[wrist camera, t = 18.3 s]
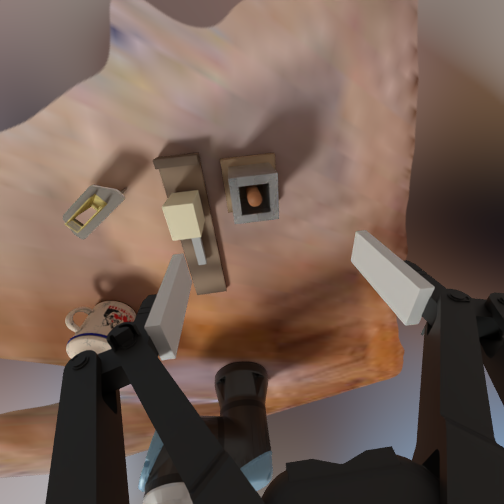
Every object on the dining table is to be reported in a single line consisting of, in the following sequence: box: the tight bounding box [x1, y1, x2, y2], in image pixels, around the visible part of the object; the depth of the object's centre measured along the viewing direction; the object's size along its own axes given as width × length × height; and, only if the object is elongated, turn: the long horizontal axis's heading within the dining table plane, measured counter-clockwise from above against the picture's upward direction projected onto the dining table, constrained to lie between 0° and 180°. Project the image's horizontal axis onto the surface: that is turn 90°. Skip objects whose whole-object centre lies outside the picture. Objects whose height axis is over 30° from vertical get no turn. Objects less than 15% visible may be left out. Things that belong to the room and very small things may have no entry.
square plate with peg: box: [220, 153, 276, 213], centre depth 32 cm, size 8×8×8 cm
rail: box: [153, 153, 226, 295], centre depth 38 cm, size 26×6×2 cm, turn 5°
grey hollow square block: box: [228, 162, 279, 224], centre depth 31 cm, size 6×6×7 cm
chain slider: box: [162, 190, 207, 265], centre depth 35 cm, size 13×4×6 cm, turn 5°
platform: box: [63, 185, 127, 239], centre depth 32 cm, size 12×18×7 cm, turn 128°
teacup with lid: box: [65, 301, 136, 359], centre depth 42 cm, size 12×9×12 cm
